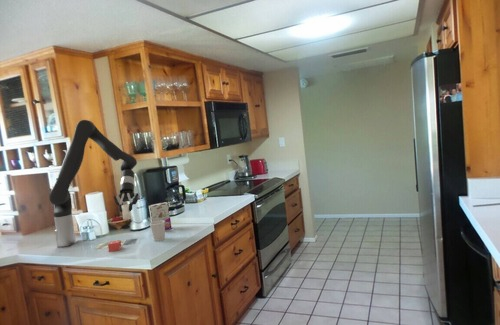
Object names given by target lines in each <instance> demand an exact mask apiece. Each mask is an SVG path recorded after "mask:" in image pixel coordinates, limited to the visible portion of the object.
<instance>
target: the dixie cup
mask: <svg viewBox="0 0 500 325" xmlns="http://www.w3.org/2000/svg"><path fill="white" fill-rule="evenodd" d="M149 226H150V229H151V233H152V236H153V240H154V242H162V241H164V240H165V239H166V230H165V221H164V220H158V221H153V222H151V221H150V222H149Z"/></svg>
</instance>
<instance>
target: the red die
mask: <svg viewBox="0 0 500 325" xmlns="http://www.w3.org/2000/svg"><path fill="white" fill-rule="evenodd" d="M121 241H122V240H120V239H118V240H112V241H109V242H110V243H109V244H108V252H116V251H120V250H121V248H122V245H121Z"/></svg>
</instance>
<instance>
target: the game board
mask: <svg viewBox="0 0 500 325" xmlns="http://www.w3.org/2000/svg"><path fill="white" fill-rule="evenodd" d="M138 239H139V238H138V237H137V238H136V237H135V238H131V239H126V240H125V239H123V240H121V247H122V246H123V247H124V246H130V245H134V244H136V243H137V241H138ZM110 242H111V241H109V242H102V243H99V244H98V246H96V247H95V249H94V250H95V251H96V250H103V249H107V248H108V244H109V243H110ZM108 249H109V248H108Z"/></svg>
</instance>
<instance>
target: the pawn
mask: <svg viewBox="0 0 500 325" xmlns="http://www.w3.org/2000/svg"><path fill="white" fill-rule="evenodd" d="M129 204H130V203H126V204H125V203H124V204H123V205H122V212H121V213H122V220H124V221H126V220H131V219H132V214H131V211H129Z"/></svg>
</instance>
